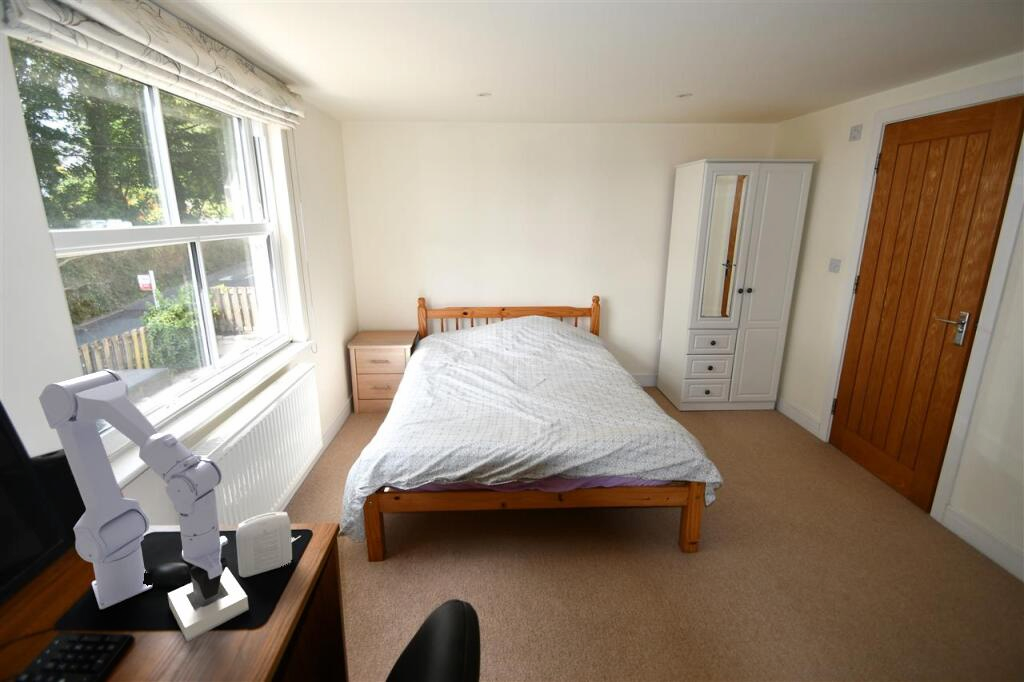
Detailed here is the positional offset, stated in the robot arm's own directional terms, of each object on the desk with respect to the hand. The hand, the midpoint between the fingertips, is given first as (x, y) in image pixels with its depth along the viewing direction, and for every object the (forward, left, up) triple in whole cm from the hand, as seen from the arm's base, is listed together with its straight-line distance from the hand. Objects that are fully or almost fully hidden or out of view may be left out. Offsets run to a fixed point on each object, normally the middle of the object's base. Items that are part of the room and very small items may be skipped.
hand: (207, 589), depth 87 cm
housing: (0, 0, -4) cm, 4 cm away
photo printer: (-4, +12, -4) cm, 13 cm away
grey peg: (0, 0, -2) cm, 2 cm away
